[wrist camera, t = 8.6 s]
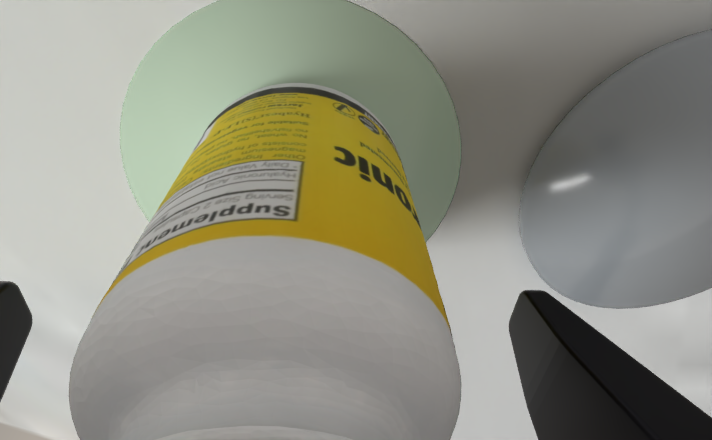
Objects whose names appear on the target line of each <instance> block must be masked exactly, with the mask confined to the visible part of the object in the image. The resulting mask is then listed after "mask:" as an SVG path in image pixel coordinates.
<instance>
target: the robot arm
mask: <svg viewBox="0 0 712 440" xmlns="http://www.w3.org/2000/svg"><path fill="white" fill-rule="evenodd" d="M31 327H32V314H31V312H30V310H29V308H28V306H27V304H26V301H25V299H24V297H23V295H22V293H21V291H20V289H19V287H18V286H17V285H16V284H15V283H13V282H9V281H0V401H1V399H2V397H3V395H4V392H5V390H6V387H7V385H8V383H9V380H10V378H11V375H12V373H13V371H14V368H15V366H16V363H17V361H18V359H19V356H20V354H21V351H22V349H23V347H24V344H25V342H26V339H27V337H28V335H29V332H30V330H31ZM509 332H510V337H511V341H512V345H513V350H514V354H515V358H516V362H517V367H518V371H519V375H520V379H521V384H522V388H523V392H524V396H525V400H526V404H527V408H528V411H529V414H530V417H531V420H532V423H533V426H534V428H535V431H536V434H537V437H538V440H712V418H711V417H710V416H709V415H707V414H706V413H705V412H703V411H702V410H701V409H699V408H698V407H697V406H696V405H694V404H693V403H692V402H690V401H689V400H688V399H686V398H685V397H684V396H682V395H681V394H680V393H678V392H677V391H676V390H674V389H673V388H672V387H671V386H669V385H668V384H667V383H665V382H664V381H663V380H661V379H660V378H659V377H657V376H656V375H655V374H653V373H652V372H651V371H650V370H648V369H647V368H646V367H644V366H643V365H642V364H640V363H639V362H638V361H636V360H635V359H634V358H632V357H631V356H630V355H629V354H627V353H626V352H625V351H623V350H622V349H621V348H619V347H618V346H617V345H615V344H614V343H613V342H611V341H610V340H609V339H607V338H606V337H605V336H604V335H602V334H601V333H600V332H598V331H597V330H596V329H594V328H593V327H592V326H590V325H589V324H588V323H586V322H585V321H584V320H583V319H581V318H580V317H579V316H577V315H576V314H575V313H573V312H572V311H571V310H569V309H568V308H567V307H565V306H564V305H563V304H562V303H560V302H559V301H558V300H556V299H555V298H554V297H552V296H551V295H550V294H548V293H547V292H545V291H541V290H525V291H523V292H521V293H520V295H519V297H518V300H517V302H516V305H515V307H514V310H513V313H512V315H511V318H510V321H509Z"/></svg>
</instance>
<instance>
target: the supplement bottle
mask: <svg viewBox="0 0 712 440" xmlns="http://www.w3.org/2000/svg"><path fill="white" fill-rule="evenodd" d="M460 401H461V375H460V369H459V363H458V359H457V355H456V351H455V345H454V342H453V338H452V334H451V329H450V325H449V322H448V319H447V316H446V312H445V308H444V305H443V302H442V299H441V296H440V293H439V289H438V285H437V280H436V278H435V275H434V271H433V267H432V263H431V260H430V257H429V254H428V250H427V246H426V243H425V239H424V236H423V233H422V230H421V226H420V223H419V219H418V216H417V212H416V209H415V206H414V203H413V199H412V196H411V192H410V189H409V186H408V182H407V178H406V175H405V172H404V168H403V165H402V162H401V159H400V156H399V154H398V151H397V148H396V146H395V144H394V141H393V140H392V138H391V136H390V134H389V132H388V131H387V129H386V128H385V127H384V125H383V124H382V123H381V121H380V120H379V119H378V118H377V117H376V116H375V115H374V114H373V113H372V112H371V111H370V110H369V109H367V108H366V107H365V106H364V105H362V104H361V103H360V102H358V101H357V100H355V99H353V98H352V97H350V96H348V95H346V94H344V93H342V92H339V91H337V90H335V89H332V88H328V87H325V86H320V85H316V84H308V83H283V84H276V85H270V86H266V87H263V88H260V89H257V90H255V91H252V92H250V93H248V94H246V95H244V96H242V97H240V98H238V99H237V100H235V101H234V102H232V103H231V104H230V105H228V106H227V107H226V108H225V109H223V110H222V111H221V112H220V113H219V114H218V115H217V117H216V118H215V119H214V120H213V121H212V122H211V123H210V125H209V126H208V127H207V129H206V130H205V132H204V134H203V135H202V137H201V138H200V140H199V141H198V143H197V145H196V146H195V148H194V150H193V151H192V153H191V155H190V156H189V158H188V160H187V161H186V163H185V165H184V167H183V168H182V170H181V172H180V173H179V175H178V176H177V178H176V180H175V181H174V183H173V184H172V186H171V188H170V190H169V191H168V193H167V195H166V196H165V198H164V200H163V201H162V203H161V204H160V206H159V208H158V210H157V211H156V213H155V214H154V216H153V218H152V219H151V221H150V222H149V224H148V225H147V227H146V229H145V231H144V233H143V234H142V236H141V237H140V239H139V241H138V242H137V244H136V246H135V247H134V249H133V251H132V252H131V254H130V256H129V257H128V258H127V260H126V262H125V263H124V265H123V267H122V268H121V270H120V272H119V274H118V275H117V277H116V278H115V280H114V281H113V283H112V285H111V287H110V288H109V290H108V291H107V293H106V294H105V296H104V297H103V299H102V300H101V302H100V304H99V305H98V307H97V309H96V311H95V313H94V315H93V317H92V319H91V321H90V324H89V325H88V327H87V329H86V331H85V333H84V335H83V337H82V339H81V341H80V343H79V346H78V348H77V351H76V354H75V357H74V360H73V364H72V368H71V372H70V382H69V402H70V410H71V415H72V419H73V422H74V425H75V428H76V431H77V434H78V437H79V438H80V440H450V438H451V436H452V433H453V430H454V428H455V425H456V422H457V418H458V415H459V409H460Z"/></svg>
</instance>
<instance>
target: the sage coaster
mask: <svg viewBox="0 0 712 440" xmlns="http://www.w3.org/2000/svg"><path fill="white" fill-rule="evenodd" d="M283 83H308V84H316V85H320V86H325V87H328V88H332V89H335V90H337V91H339V92H342V93H344V94H346V95H348V96H350V97H352V98H353V99H355V100H357V101H358V102H360V103H361V104H362V105H364V106H365V107H366V108H367V109H369V110H370V111H371V112H372V113H373V114H374V115H375V116H376V117H377V118H378V119H379V120H380V121H381V123H382V124H383V125H384V127H385V128H386V129H387V131H388V132H389V134H390V136H391V138H392V140H393V141H394V144H395V146H396V148H397V151H398V154H399V156H400V159H401V162H402V165H403V168H404V172H405V175H406V178H407V182H408V186H409V189H410V192H411V196H412V199H413V203H414V206H415V209H416V212H417V216H418V219H419V223H420V226H421V230H422V233H423V236H424V239H425V243H426V241H427V240H428V239H429V238H430V237H431V235H432V234H433V233H434V232H435V230H436V229H437V227H438V226H439V224H440V222H441V221H442V219H443V218H444V216H445V214H446V212H447V210H448V208H449V205H450V203H451V201H452V199H453V196H454V192H455V189H456V186H457V183H458V177H459V171H460V165H461V138H460V130H459V123H458V119H457V116H456V112H455V109H454V105H453V102H452V100H451V97H450V95H449V93H448V91H447V88H446V86H445V84H444V82H443V80H442V79H441V77H440V76H439V74H438V72H437V71H436V69H435V68H434V66H433V65H432V63H431V62H430V61H429V59H428V58H427V57H426V56H425V55H424V54H423V52H422V51H421V50H420V49H419V48H418V47H417V45H416V44H415V43H414V42H412V41H411V40H410V39H409V38H408V37H407V36H406V35H404V34H403V33H402V32H401V31H400V30H399V29H398V28H396V27H395V26H393V25H392V24H390V23H389V22H387V21H386V20H384V19H382V18H381V17H379V16H378V15H376V14H375V13H373V12H370V11H368V10H366V9H364V8H362V7H360V6H358V5H355V4H353V3H351V2H348V1H345V0H219V1H216V2H214V3H212V4H210V5H208V6H206V7H204V8H202V9H199V10H197V11H195V12H193V13H192V14H190V15H189V16H187V17H186V18H184V19H183V20H182V21H180V22H179V23H177V24H176V25H174V26H173V27H172V28H171V29H169V30H168V31H167V32H166V33H165V34H164V35H163V36H162V37H161V38H160V39H159V40H158V41H157V42H156V43H155V44H154V45H153V47H152V48H151V49H150V51H149V52H148V53H147V55H146V56H145V57H144V59H143V60H142V61H141V63H140V64H139V66H138V68H137V70H136V72H135V74H134V76H133V78H132V80H131V82H130V84H129V87H128V91H127V94H126V97H125V100H124V103H123V108H122V115H121V122H120V149H121V155H122V161H123V167H124V171H125V174H126V177H127V180H128V183H129V187H130V189H131V191H132V193H133V195H134V197H135V199H136V202H137V204H138V206H139V207H140V209H141V210H142V212H143V213H144V215H145V217H146V218H147V220H148V221H149V222H150V221H151V219H152V218H153V216H154V214H155V213H156V211H157V210H158V208H159V206H160V204H161V203H162V201H163V200H164V198H165V196H166V195H167V193H168V191H169V190H170V188H171V186H172V184H173V183H174V181H175V180H176V178H177V176H178V175H179V173H180V172H181V170H182V168H183V167H184V165H185V163H186V161H187V160H188V158H189V156H190V155H191V153H192V151H193V150H194V148H195V146H196V145H197V143H198V141H199V140H200V138H201V137H202V135H203V134H204V132H205V130H206V129H207V127H208V126H209V125H210V123H211V122H212V121H213V120H214V119H215V118H216V117H217V115H218V114H219V113H220V112H221V111H222V110H223V109H225V108H226V107H227V106H228V105H230V104H231V103H232V102H234V101H235V100H237V99H238V98H240V97H242V96H244V95H246V94H248V93H250V92H252V91H255V90H257V89H260V88H263V87H266V86H270V85H276V84H283Z"/></svg>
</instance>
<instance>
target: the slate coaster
mask: <svg viewBox="0 0 712 440" xmlns="http://www.w3.org/2000/svg"><path fill="white" fill-rule="evenodd" d="M519 230H520V236H521V240H522V244H523V247H524V250H525V252H526V254H527V256H528V259H529V260H530V262H531V264H532V265H533V267H534V269H535V270H536V271H537V273H538V274H539V276H540V277H541V279H543V280H544V281H545V282H546V283H547V284H548V285H549V286H550V287H551V288H552V289H554V290H555V291H557V292H558V293H560V294H561V295H563V296H565V297H567V298H569V299H571V300H574V301H576V302H580V303H583V304H586V305H590V306H596V307H602V308H616V309H623V308H640V307H647V306H654V305H659V304H664V303H668V302H672V301H676V300H679V299H683V298H686V297H689V296H692V295H695V294H697V293H700V292H703V291H705V290H708V289H710V288H712V29H711V30H707V31H703V32H700V33H696V34H692V35H689V36H686V37H683V38H680V39H678V40H675V41H673V42H670V43H668V44H665V45H663V46H660V47H658V48H656V49H654V50H652V51H651V52H649V53H647V54H645V55H643V56H641V57H639V58H637V59H635V60H634V61H632V62H631V63H629V64H627V65H626V66H624V67H623V68H621V69H620V70H618V71H617V72H615V73H613V74H612V75H611V76H609V77H608V78H607V79H606V80H604V81H603V82H602V83H600V84H599V85H598V86H597V87H595V88H594V89H593V90H592V91H590V92H589V93H588V94H587V95H586V96H585V97H584V98H583V99H582V100H581V101H580V102H579V103H578V104H577V105H576V106H575V107H574V108H573V109H572V110H571V111H570V112H569V113H568V114H567V115H566V117H565V118H564V119H563V120H562V121H561V122H560V123H559V125H558V126H557V127H556V128H555V130H554V131H553V132H552V134H551V135H550V137H549V138H548V140H547V141H546V142H545V144H544V145H543V147H542V148H541V150H540V152H539V154H538V156H537V158H536V159H535V161H534V163H533V165H532V167H531V170H530V172H529V175H528V177H527V180H526V182H525V185H524V189H523V193H522V197H521V201H520V210H519Z"/></svg>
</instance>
